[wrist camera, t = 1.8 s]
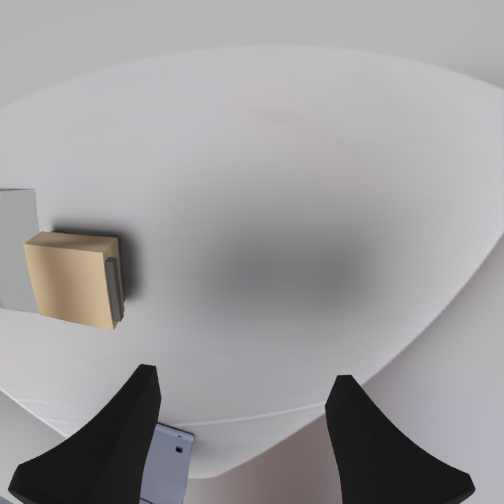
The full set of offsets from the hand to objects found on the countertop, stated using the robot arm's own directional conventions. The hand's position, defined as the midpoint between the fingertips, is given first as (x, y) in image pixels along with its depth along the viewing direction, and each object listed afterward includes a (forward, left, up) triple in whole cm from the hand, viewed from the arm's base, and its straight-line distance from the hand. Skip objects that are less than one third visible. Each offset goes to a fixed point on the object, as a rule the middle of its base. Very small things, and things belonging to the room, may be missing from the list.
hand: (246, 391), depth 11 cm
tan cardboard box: (+10, +4, -9) cm, 14 cm away
